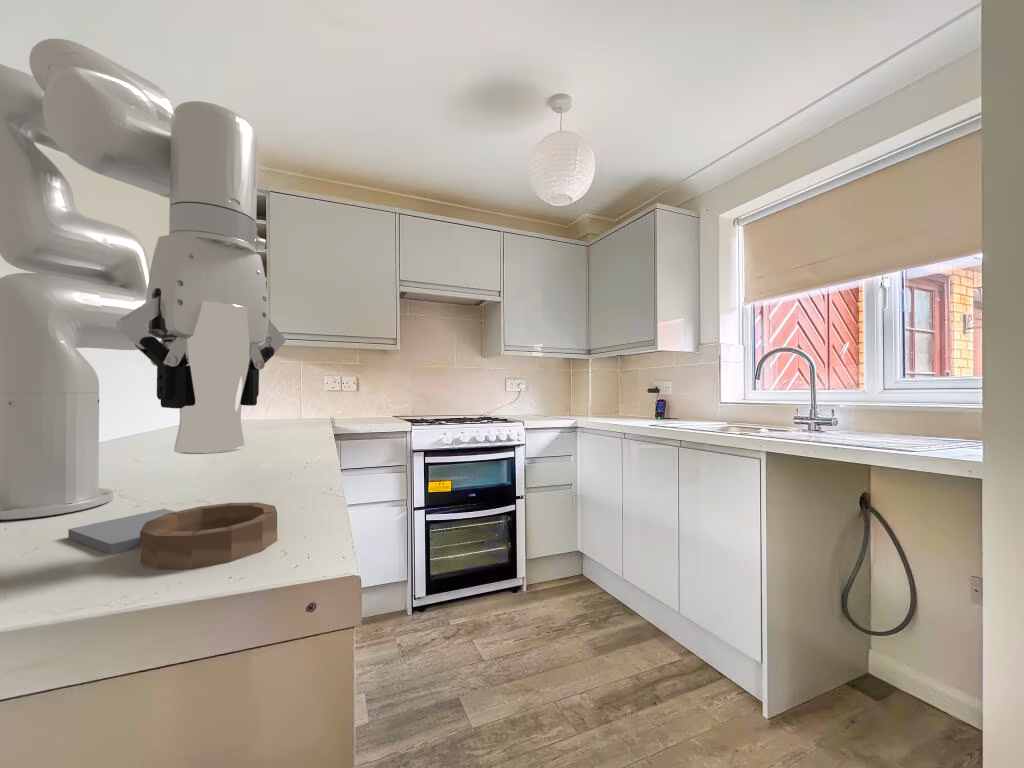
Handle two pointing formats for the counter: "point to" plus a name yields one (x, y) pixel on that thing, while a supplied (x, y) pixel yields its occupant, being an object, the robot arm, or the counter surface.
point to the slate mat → (115, 532)
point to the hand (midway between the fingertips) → (211, 404)
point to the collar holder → (207, 535)
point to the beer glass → (215, 380)
